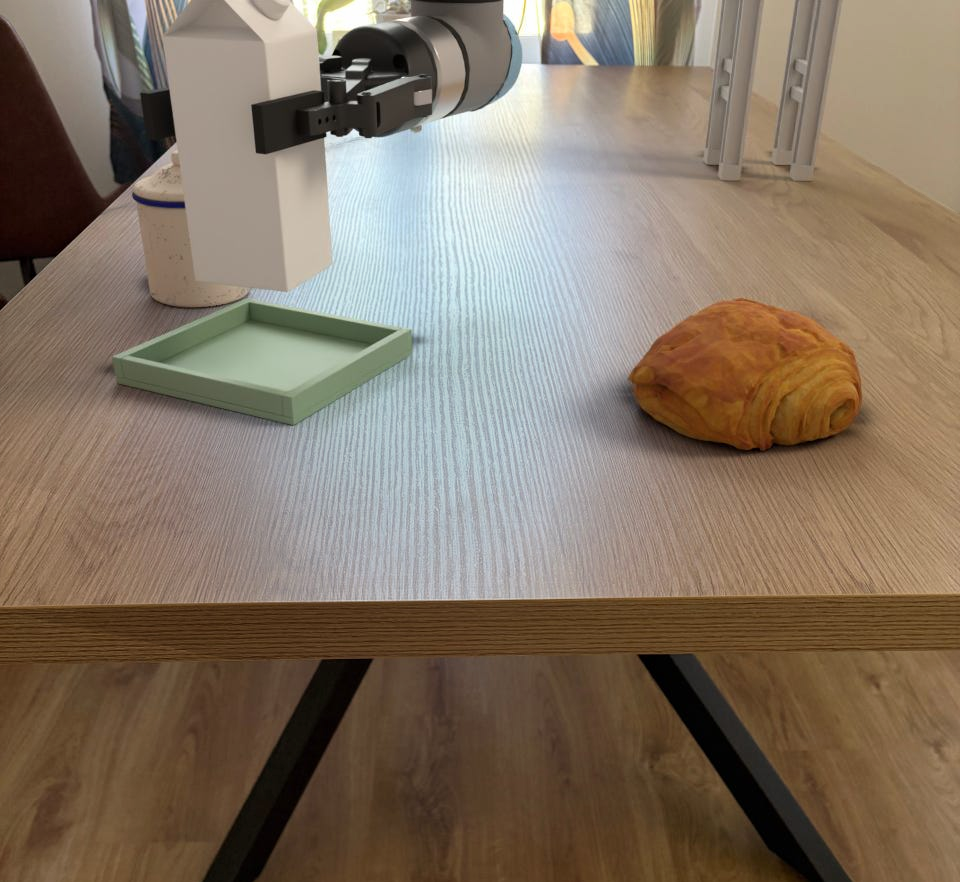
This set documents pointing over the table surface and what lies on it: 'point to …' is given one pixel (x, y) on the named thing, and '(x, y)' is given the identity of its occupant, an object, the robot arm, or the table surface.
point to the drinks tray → (264, 359)
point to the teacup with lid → (173, 243)
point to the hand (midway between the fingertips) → (202, 123)
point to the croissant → (749, 377)
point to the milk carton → (247, 143)
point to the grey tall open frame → (799, 89)
